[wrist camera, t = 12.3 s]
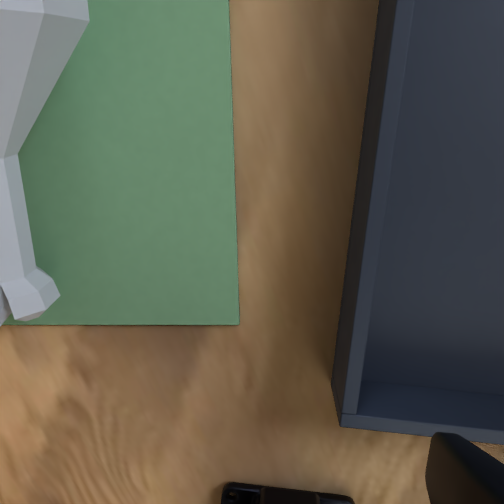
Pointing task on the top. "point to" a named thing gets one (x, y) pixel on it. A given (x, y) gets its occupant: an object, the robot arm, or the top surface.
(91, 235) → the napkin
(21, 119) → the chicken leg
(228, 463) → the top surface
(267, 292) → the top surface
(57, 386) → the top surface
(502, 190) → the roasting tin
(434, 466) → the robot arm
